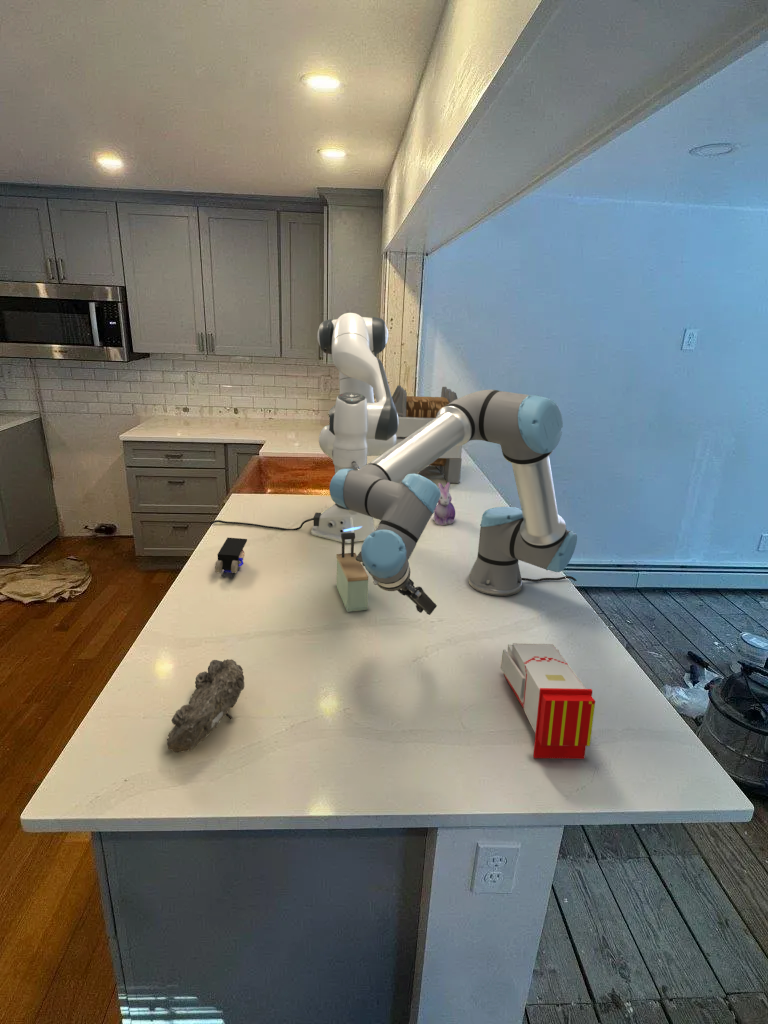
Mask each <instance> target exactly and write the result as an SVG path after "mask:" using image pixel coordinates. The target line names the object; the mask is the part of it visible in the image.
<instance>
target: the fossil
mask: <svg viewBox="0 0 768 1024" xmlns="http://www.w3.org/2000/svg"><path fill="white" fill-rule="evenodd" d="M243 670H244V669H243V667H242V665H240V664H237V662H236V661H235V660H234V659H232V658H231V659H227V658H226V659H224V660H223V661H222V660H217V659H212V660H211V661H210V663H209V665H208V666H207V671H201V672H199V673H198V674H197V675H196V676H195V680H194V684H195V685H194V687H195V689H194V690H193V693H192V694H191V697H190V698H189V700H188V704H184V705H182V706H181V707H180V709H177V710H176V711H175V713H174V715H173V716H172V718H171V723H172V724H173V727H172V730H171V731H170V732H168V734H167V738H166V741H167V742H166V745H167V749H168V750H169V751H173V752H174V753H176V754H178V753H182V752H188V751H189V752H192V751H193V750H195V748H196V747H197V746H199V744H200V743H201V742H203V741H204V740H205V739H206V738H207V737H208V736H209V735H210V734H211V733H212V732H214V730H215V729H217V727H218V726H219V724H220V722H221V721H222V720H223V719H224V718H225V716H226V717H227V719H229V720H233V717H232V715H230V714H229V710H230V709H231V708H234V706H235V704H236V703H237V702H238V699H239V697H240V695H241V693H242V691H243V690H245V689H244V688H245V675H244V671H243Z"/></svg>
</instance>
